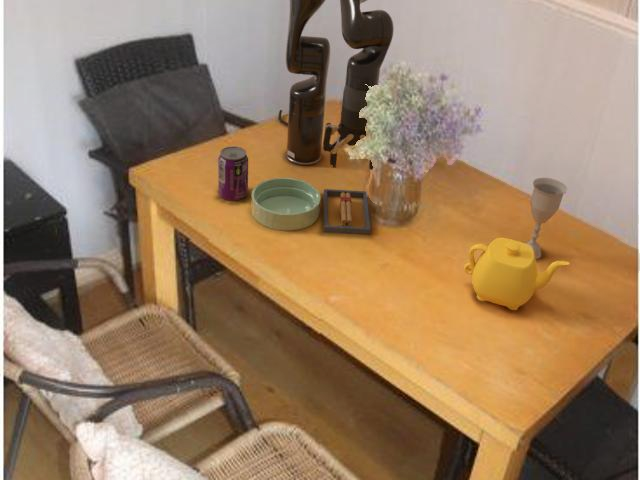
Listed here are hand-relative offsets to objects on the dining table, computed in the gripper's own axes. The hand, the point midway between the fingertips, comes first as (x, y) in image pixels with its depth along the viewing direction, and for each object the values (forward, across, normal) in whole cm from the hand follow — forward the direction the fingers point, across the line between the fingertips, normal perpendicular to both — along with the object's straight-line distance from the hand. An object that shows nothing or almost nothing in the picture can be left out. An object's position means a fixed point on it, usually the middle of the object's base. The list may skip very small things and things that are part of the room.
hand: (352, 166), depth 169 cm
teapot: (+13, -33, +28) cm, 45 cm away
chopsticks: (+13, 0, +1) cm, 13 cm away
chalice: (+13, -42, +12) cm, 46 cm away
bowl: (+13, +15, +1) cm, 20 cm away
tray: (+13, 0, +1) cm, 13 cm away
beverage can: (+14, +28, -6) cm, 31 cm away
